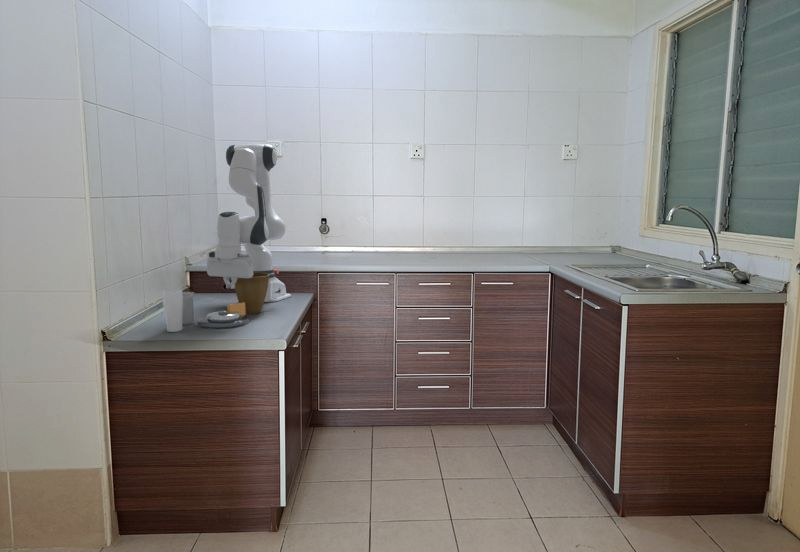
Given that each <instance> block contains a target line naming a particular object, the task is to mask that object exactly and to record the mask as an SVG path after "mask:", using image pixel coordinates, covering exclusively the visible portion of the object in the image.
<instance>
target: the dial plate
mask: <svg viewBox="0 0 800 552" xmlns="http://www.w3.org/2000/svg"><path fill="white" fill-rule="evenodd" d="M249 323H250V318H249V316H246V315H242V316H240V319H239V320H236V321H232V322H224V323H214V322H209V321H207V316H205V317H203V318H200V319H198V320H197V326H198V327H199V328H203V329H209V328H211V329H213V330H218V329H221V330H223V329H222V328H224V329H230V328H231V329H233V328H238V327H242V326H246V325H248V324H249Z"/></svg>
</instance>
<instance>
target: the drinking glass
mask: <svg viewBox="0 0 800 552" xmlns="http://www.w3.org/2000/svg"><path fill="white" fill-rule="evenodd" d="M183 292H184V291H183V289H182V288H167V289H163V290H162V302H163V303H162V305H163V311H164V316H165V323H166V331H167V332H169V333H178V332H181V331H182V330H183V325H182V317H183Z"/></svg>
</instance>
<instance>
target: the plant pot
mask: <svg viewBox="0 0 800 552" xmlns="http://www.w3.org/2000/svg"><path fill="white" fill-rule="evenodd" d="M268 282H269V274H267V273H253V276H252V278H237V281H236V283H235V288H234V290H235V294H236V298H237V301H238V302H245V312H246V315H247V314H252V315H253V314H259V313H261V312H262V310H263V306H264V303H265V302H264V301H265V297H266V293H267V288H268Z"/></svg>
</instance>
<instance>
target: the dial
mask: <svg viewBox="0 0 800 552" xmlns="http://www.w3.org/2000/svg"><path fill="white" fill-rule="evenodd" d="M226 306H227V307H226V308H227V310H219V311H214V312H209V313H207V314H206V317H207V321H209V322H214V323H224V322H232V321H236V320H239V319H240V316H242V315H244V316H246V315H247V313H246V312H245V302H239V301H238V302H233V303H228V304H227V305H226Z"/></svg>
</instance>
